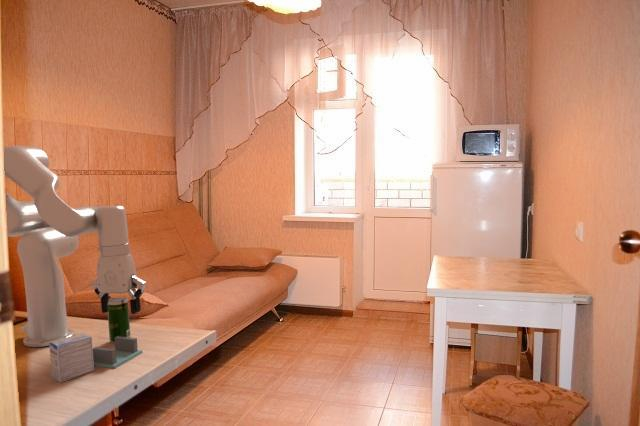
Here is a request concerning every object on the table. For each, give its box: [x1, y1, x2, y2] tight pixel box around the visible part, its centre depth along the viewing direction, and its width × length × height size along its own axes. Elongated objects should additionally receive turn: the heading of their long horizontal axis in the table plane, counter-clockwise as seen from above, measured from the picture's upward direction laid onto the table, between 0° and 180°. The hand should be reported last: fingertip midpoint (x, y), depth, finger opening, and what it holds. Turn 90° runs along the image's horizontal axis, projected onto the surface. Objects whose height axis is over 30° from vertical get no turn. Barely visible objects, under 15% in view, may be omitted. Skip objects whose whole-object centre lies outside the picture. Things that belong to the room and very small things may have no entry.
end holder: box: [93, 336, 143, 369], centre depth 123 cm, size 8×10×4 cm
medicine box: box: [48, 332, 95, 384], centre depth 113 cm, size 8×4×9 cm, turn 141°
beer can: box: [107, 295, 131, 345], centre depth 135 cm, size 5×5×12 cm
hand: (121, 311), depth 135 cm, fingers open, 9 cm apart
